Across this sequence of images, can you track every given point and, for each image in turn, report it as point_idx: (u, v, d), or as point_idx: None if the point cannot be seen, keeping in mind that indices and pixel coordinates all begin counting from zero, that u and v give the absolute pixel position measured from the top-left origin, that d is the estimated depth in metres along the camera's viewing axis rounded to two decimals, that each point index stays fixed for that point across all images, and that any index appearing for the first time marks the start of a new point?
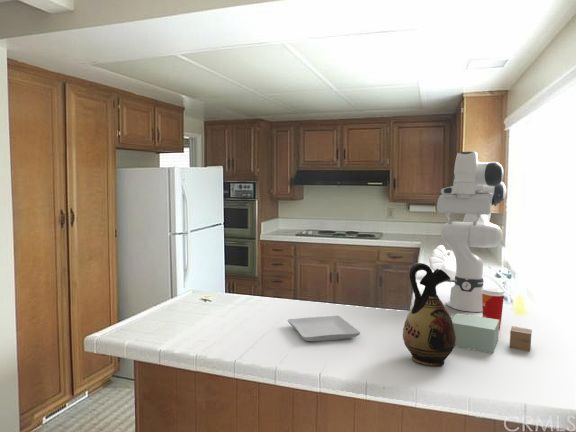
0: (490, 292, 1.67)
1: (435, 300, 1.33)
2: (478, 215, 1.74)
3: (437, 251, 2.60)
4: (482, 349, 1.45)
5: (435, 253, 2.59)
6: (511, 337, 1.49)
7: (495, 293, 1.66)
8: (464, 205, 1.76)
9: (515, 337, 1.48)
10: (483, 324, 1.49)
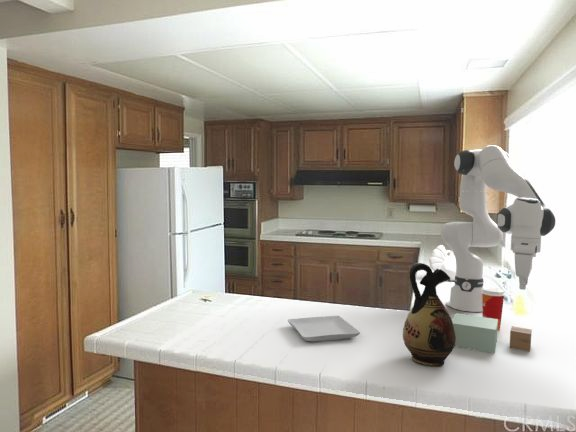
0: (490, 292, 1.67)
1: (435, 300, 1.33)
2: None
3: (437, 251, 2.60)
4: (483, 349, 1.45)
5: (435, 253, 2.59)
6: (511, 337, 1.49)
7: (495, 293, 1.66)
8: None
9: (515, 337, 1.48)
10: (483, 324, 1.49)
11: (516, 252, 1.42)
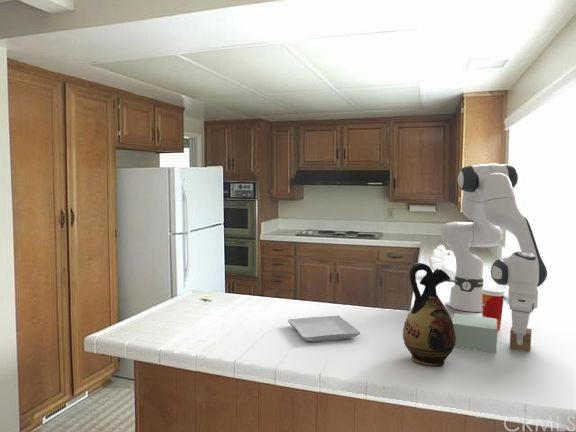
0: (490, 292, 1.67)
1: (435, 300, 1.33)
2: None
3: (437, 251, 2.60)
4: (485, 349, 1.45)
5: (435, 253, 2.59)
6: (511, 337, 1.49)
7: (495, 293, 1.66)
8: None
9: (515, 336, 1.48)
10: (484, 324, 1.49)
11: (513, 309, 1.43)
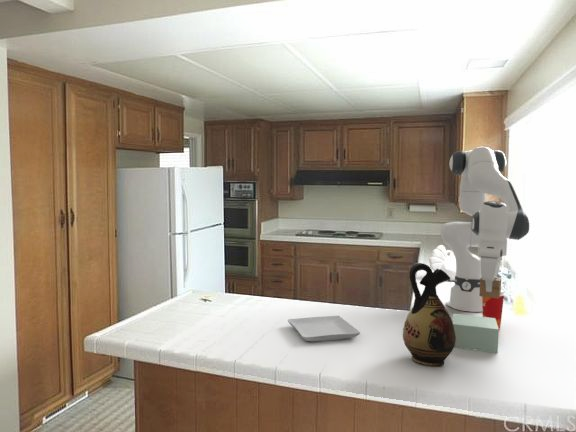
0: None
1: (435, 300, 1.33)
2: None
3: (437, 251, 2.60)
4: (486, 349, 1.45)
5: (435, 253, 2.59)
6: (481, 285, 1.50)
7: None
8: (497, 267, 1.50)
9: (485, 284, 1.49)
10: (485, 324, 1.49)
11: (482, 256, 1.44)
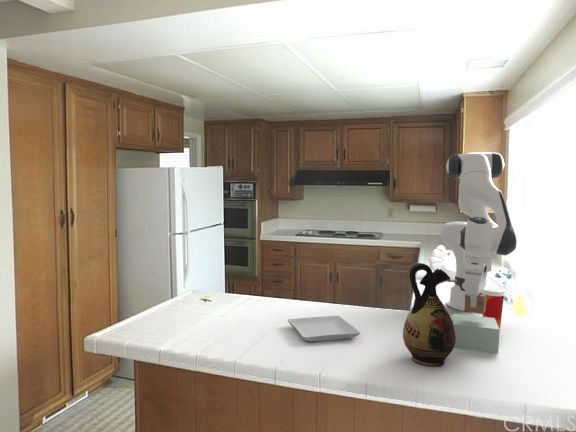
0: (490, 292, 1.67)
1: (435, 300, 1.33)
2: (481, 290, 1.56)
3: (437, 251, 2.60)
4: (487, 349, 1.45)
5: (435, 253, 2.59)
6: (466, 300, 1.51)
7: (495, 293, 1.66)
8: (482, 282, 1.51)
9: None
10: (485, 324, 1.49)
11: (466, 272, 1.46)
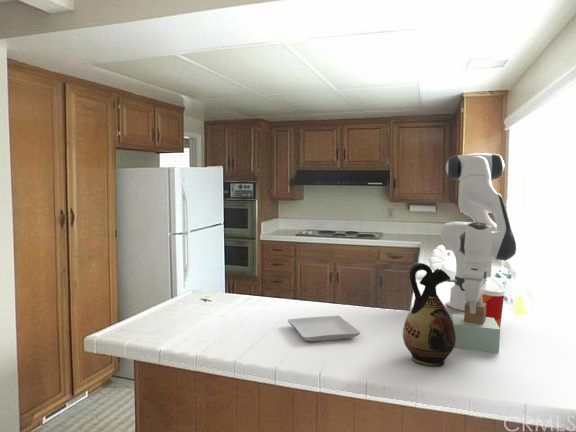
0: (490, 292, 1.67)
1: (435, 300, 1.33)
2: (481, 295, 1.57)
3: (437, 251, 2.60)
4: (488, 349, 1.45)
5: (435, 253, 2.59)
6: (465, 311, 1.51)
7: (495, 293, 1.66)
8: (482, 288, 1.52)
9: (469, 310, 1.51)
10: (485, 324, 1.49)
11: (466, 277, 1.46)
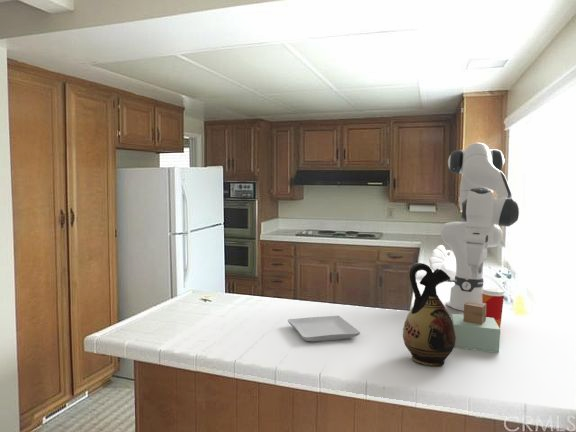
0: (490, 292, 1.67)
1: (435, 300, 1.33)
2: None
3: (437, 251, 2.60)
4: (488, 349, 1.45)
5: (435, 253, 2.59)
6: (465, 310, 1.52)
7: (495, 293, 1.66)
8: (483, 253, 1.51)
9: (469, 310, 1.51)
10: (485, 324, 1.49)
11: (467, 242, 1.45)
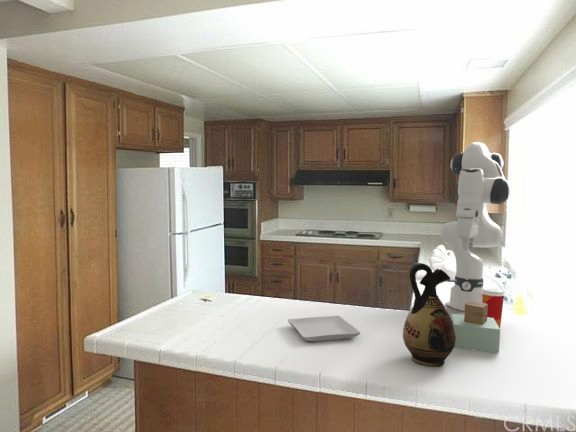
0: (490, 292, 1.67)
1: (435, 300, 1.33)
2: (474, 237, 1.68)
3: (437, 251, 2.60)
4: (488, 349, 1.45)
5: (435, 253, 2.59)
6: (465, 311, 1.51)
7: (495, 293, 1.66)
8: (474, 228, 1.62)
9: (469, 310, 1.51)
10: (485, 324, 1.49)
11: (459, 216, 1.57)
